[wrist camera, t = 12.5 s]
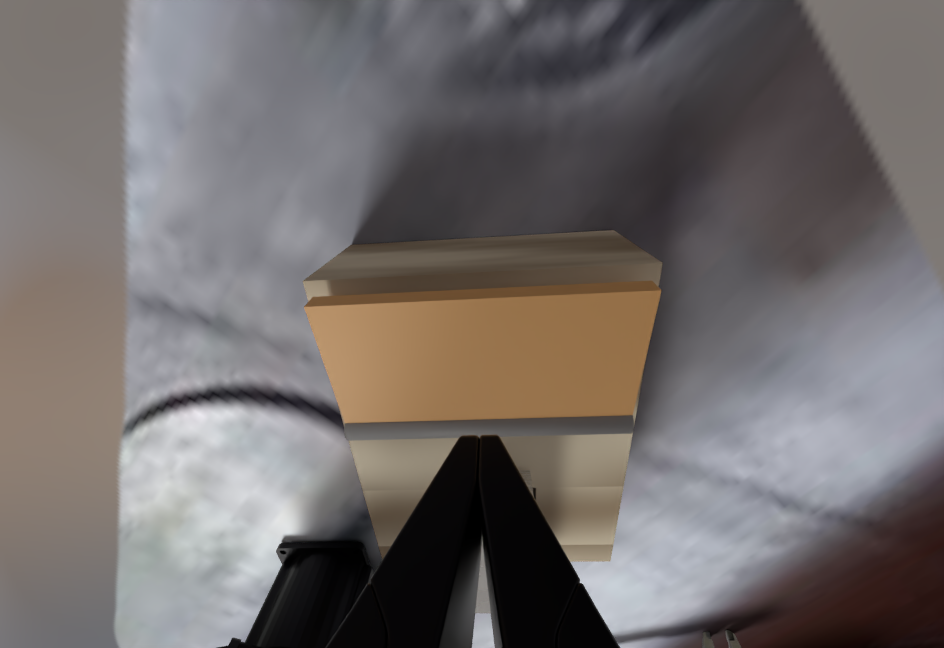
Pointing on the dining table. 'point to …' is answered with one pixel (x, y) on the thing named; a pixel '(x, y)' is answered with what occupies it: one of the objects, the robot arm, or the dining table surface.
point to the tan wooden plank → (487, 359)
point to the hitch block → (547, 457)
